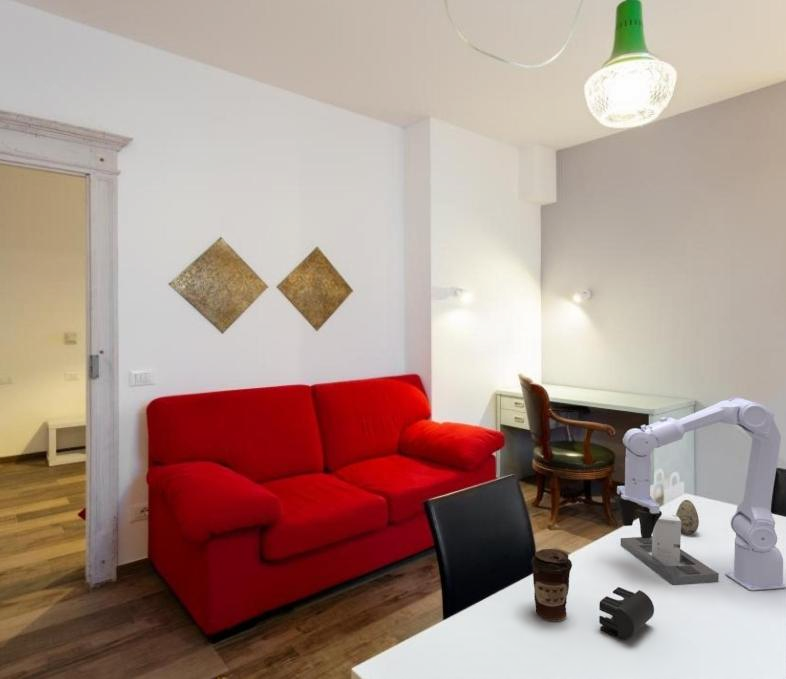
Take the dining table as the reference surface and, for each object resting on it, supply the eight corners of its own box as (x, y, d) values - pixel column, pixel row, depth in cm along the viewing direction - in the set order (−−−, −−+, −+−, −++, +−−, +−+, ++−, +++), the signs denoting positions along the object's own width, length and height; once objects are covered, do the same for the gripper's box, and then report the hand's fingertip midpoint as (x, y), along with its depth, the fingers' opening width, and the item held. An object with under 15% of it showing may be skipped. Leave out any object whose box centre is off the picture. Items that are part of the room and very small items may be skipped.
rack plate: (660, 542, 146) (660, 535, 146) (718, 581, 124) (718, 573, 124) (620, 545, 145) (620, 537, 145) (672, 585, 123) (672, 576, 123)
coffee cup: (574, 628, 106) (575, 566, 105) (532, 623, 107) (532, 562, 107) (568, 605, 114) (569, 547, 114) (529, 601, 116) (530, 544, 115)
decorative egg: (702, 537, 150) (703, 503, 149) (682, 537, 150) (682, 503, 149) (691, 529, 156) (692, 496, 155) (671, 529, 156) (672, 496, 155)
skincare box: (654, 564, 133) (655, 518, 133) (651, 556, 138) (651, 512, 137) (680, 567, 131) (681, 521, 131) (676, 560, 136) (677, 514, 135)
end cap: (633, 648, 99) (634, 614, 99) (597, 631, 105) (598, 599, 104) (654, 627, 106) (654, 595, 106) (620, 613, 111) (620, 582, 111)
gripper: (606, 470, 135) (605, 521, 136) (640, 487, 121) (639, 544, 121) (631, 468, 136) (630, 519, 137) (668, 486, 122) (667, 542, 122)
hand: (636, 531), depth 129 cm, fingers open, 7 cm apart
